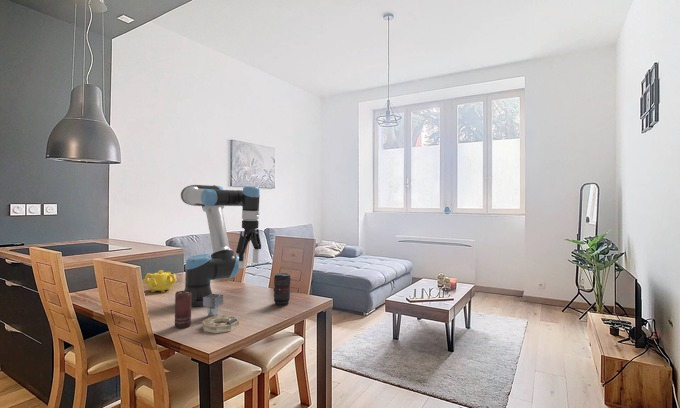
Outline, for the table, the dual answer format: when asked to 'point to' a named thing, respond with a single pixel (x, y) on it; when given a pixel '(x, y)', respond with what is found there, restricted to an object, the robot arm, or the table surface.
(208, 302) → the bushing
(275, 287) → the camera lens
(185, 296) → the can
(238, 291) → the table surface
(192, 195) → the robot arm
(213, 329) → the ring
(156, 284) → the teapot
